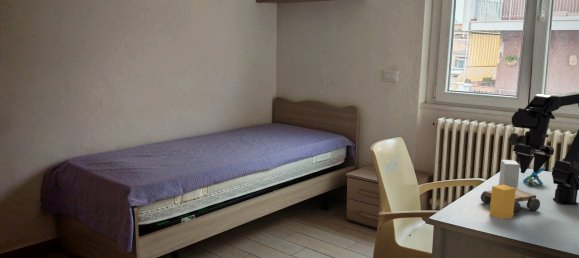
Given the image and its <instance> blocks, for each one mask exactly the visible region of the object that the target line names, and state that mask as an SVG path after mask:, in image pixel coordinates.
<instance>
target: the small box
mask: <svg viewBox="0 0 579 258" xmlns="http://www.w3.org/2000/svg"><path fill="white" fill-rule="evenodd" d="M519 176H520V163H519V162H517V161H516V160H512V159H501V160H500V169H499V180H498V185H507V186H510V187H513V188H516V189H518V186H519Z"/></svg>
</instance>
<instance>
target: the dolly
mask: <svg viewBox="0 0 579 258" xmlns="http://www.w3.org/2000/svg"><path fill="white" fill-rule="evenodd" d="M491 194H492V189H491V190H484V191H483V192H482V193H481V195H480V201H481V202H482V203H484V204H487V205H490V204H491ZM526 201H527V202H526ZM520 202H526V207H527V209H528V210H530V211H533V212H536V211H538V210H539V208H540V206H541V200H539V199H538V198H537V194H535V193H530V192H528V191H525V190H522V189H520V188H519V189H518V188H517V189H516V192H515V202H514V211H513V215H517V214H518V213H519V212H520V211H521V203H520Z"/></svg>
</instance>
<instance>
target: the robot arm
mask: <svg viewBox="0 0 579 258" xmlns="http://www.w3.org/2000/svg"><path fill="white" fill-rule="evenodd" d="M571 105H577V107H578V108H579V90H577V91H573V92H566V93H561V94H560V93H559V94H544V93H543V94H540V93H537V94H535V95H534V96H533V98H532V99H531V100H530V101H529V103H528V104H527V105H526V106H525V107H524V108H521V107H518V109H517V111H516V112H514V113H513V115H512V116H511V123H512V126H513V127H515V128H520V129H526V130H527V131H525V133H524V134H523V135H522V134H518V133H515V132H513V133H511V134H510V136H509V138H508V142H510V144H511V146H512V147H513V148H512V152H514V154H515V155H516V156H517V157H518V159H519V165H520V167H519V170H520V173H521V174H525V173H526V171H527V170H528V168H529V166H530V164H531V163H532V161H533V172H534V173H537V172H538V171H539V170H540V169H541V168H543V167H544V165H545V163H546V162H547V161H548V160H549V159H550V158H551V157H552V156H554V154H555V148H554V147H553V146H549V145H546V144H545V143H546V138H549V136H550V134H548V129H549V126H550V121H551V120H555V119H556V117H555V115H554V114H553V112H556V111H557V110H559V109H560V108H561V107H566V106H571ZM551 170H552V171H551V176H552V181H553V184H554V185H556V188H555V190H554V191H555V192H554V197H552V200H553V201H555V202H557V203H559V204H560V205H563V206H567V205H568V206H570V205H571V206H572V205H574V206H575V205H577V206H578V205H579V202H578V200H577V199H578V191H579V128H578V130H577V132H576V133H575V136H574V138H573V140H572V141H571V144H570V146H569V148H568V150H567V152H566V154H565V156H564V158H562V159H561V160H559V159H556V160H555V162H554V165H553V167H552V168H551ZM533 172H532V173H533Z"/></svg>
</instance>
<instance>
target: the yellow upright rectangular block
mask: <svg viewBox="0 0 579 258" xmlns="http://www.w3.org/2000/svg"><path fill="white" fill-rule="evenodd" d="M491 190H492V194H491V203H489V205H490V206H489V207H490V208H489V215H490V216H493V217H495V218H499V219H501V220H503V219H508V218H513V217H514V214H513V211H514V202H515V192H516V188H513V187H510V186H507V185H500V184H497V185H492V186H491Z"/></svg>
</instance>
